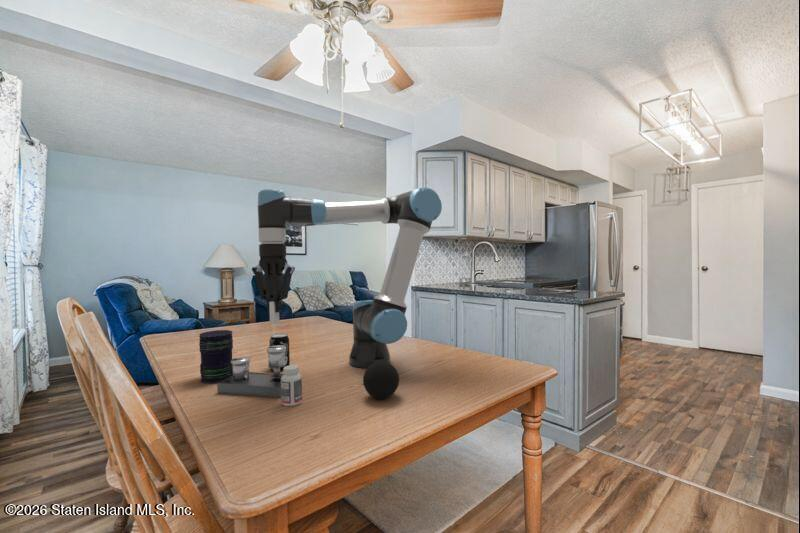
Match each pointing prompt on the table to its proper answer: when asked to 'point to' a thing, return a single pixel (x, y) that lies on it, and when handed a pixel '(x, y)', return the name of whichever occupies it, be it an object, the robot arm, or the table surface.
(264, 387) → the mount
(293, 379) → the pill bottle
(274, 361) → the knob
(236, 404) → the table surface
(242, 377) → the knob
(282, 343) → the beverage can
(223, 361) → the storage jar
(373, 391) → the speaker
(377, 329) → the robot arm
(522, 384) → the table surface
